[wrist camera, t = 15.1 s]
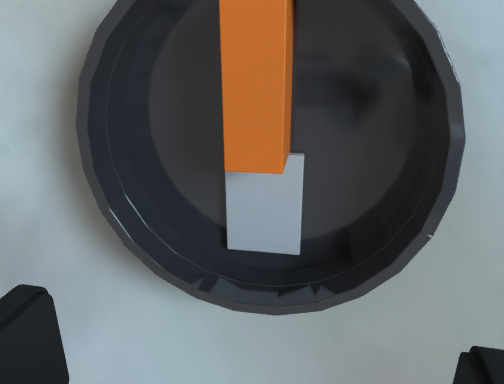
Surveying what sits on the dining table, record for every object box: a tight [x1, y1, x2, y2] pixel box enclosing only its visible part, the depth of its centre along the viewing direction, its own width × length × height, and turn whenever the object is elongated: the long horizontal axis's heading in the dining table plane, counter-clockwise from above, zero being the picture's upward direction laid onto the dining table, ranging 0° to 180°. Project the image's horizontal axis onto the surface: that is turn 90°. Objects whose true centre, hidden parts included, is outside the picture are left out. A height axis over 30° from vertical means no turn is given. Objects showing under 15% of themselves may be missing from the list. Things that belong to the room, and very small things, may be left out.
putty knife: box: [219, 0, 304, 255], centre depth 23 cm, size 5×16×4 cm, turn 0°
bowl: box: [76, 0, 466, 315], centre depth 24 cm, size 20×20×5 cm
